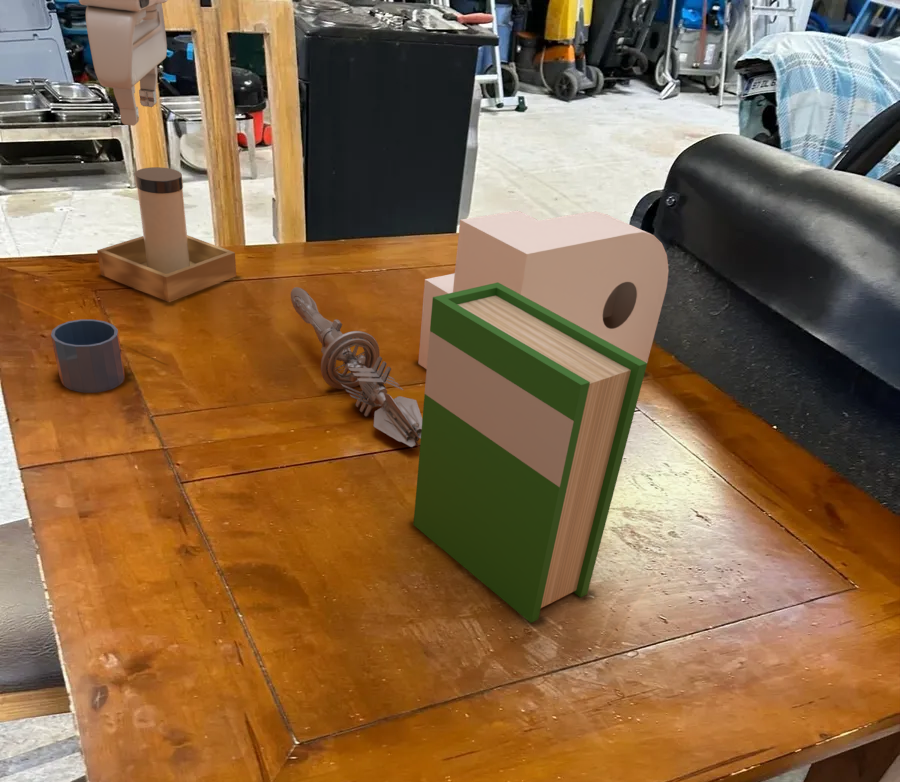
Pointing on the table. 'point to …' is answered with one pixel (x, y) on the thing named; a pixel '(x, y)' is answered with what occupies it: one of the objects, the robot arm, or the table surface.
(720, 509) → the table surface
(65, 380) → the cup
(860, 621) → the table surface
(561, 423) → the hardback book
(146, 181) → the jar
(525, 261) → the stepped bracket block
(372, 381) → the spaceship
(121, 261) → the tray
